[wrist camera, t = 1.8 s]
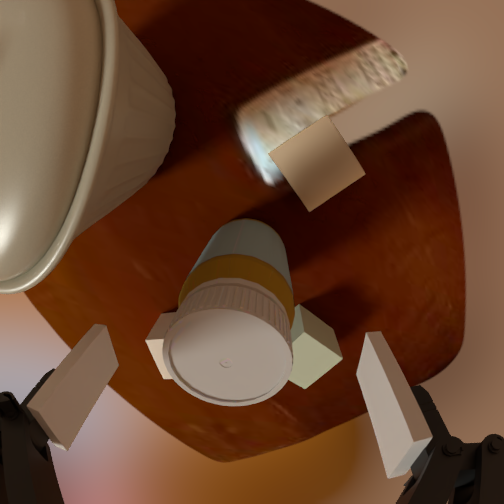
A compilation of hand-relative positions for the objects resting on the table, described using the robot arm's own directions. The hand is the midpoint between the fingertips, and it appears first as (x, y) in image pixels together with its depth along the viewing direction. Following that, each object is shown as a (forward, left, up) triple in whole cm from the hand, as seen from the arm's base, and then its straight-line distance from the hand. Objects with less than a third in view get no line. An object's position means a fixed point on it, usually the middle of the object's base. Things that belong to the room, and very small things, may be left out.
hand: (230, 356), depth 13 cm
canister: (-16, -7, -14) cm, 23 cm away
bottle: (0, 0, -14) cm, 14 cm away
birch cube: (-6, +8, -14) cm, 18 cm away
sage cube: (+10, +2, -14) cm, 17 cm away
